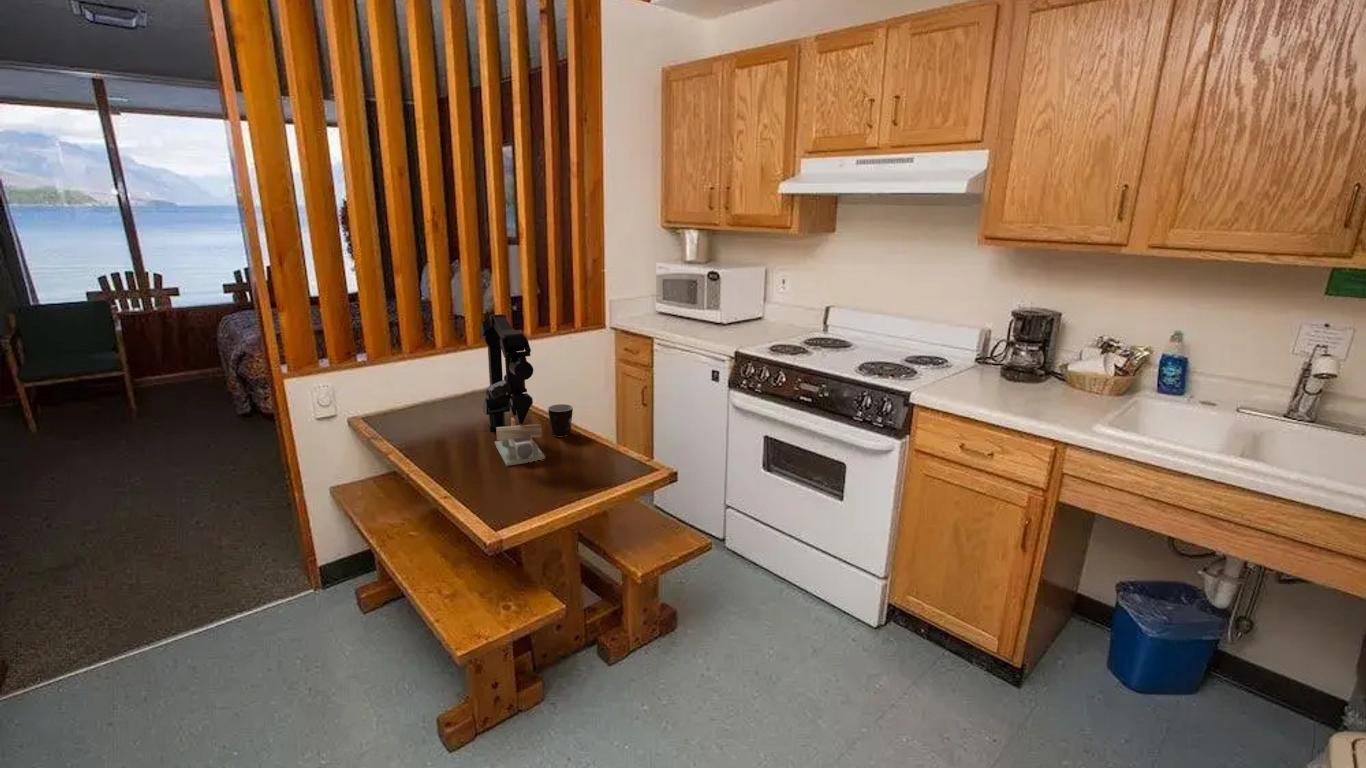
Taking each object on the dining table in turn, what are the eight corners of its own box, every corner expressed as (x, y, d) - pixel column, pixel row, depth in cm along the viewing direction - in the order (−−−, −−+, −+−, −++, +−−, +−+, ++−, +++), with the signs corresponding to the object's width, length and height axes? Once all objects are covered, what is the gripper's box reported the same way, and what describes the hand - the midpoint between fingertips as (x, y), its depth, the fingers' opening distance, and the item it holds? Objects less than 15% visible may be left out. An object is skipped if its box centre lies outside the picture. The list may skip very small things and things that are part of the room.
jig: (495, 444, 206) (493, 419, 204) (530, 439, 212) (529, 414, 209) (507, 467, 188) (505, 439, 186) (545, 460, 194) (544, 433, 191)
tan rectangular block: (497, 435, 197) (496, 427, 196) (541, 432, 201) (540, 424, 200) (496, 440, 193) (496, 431, 193) (541, 436, 197) (541, 427, 196)
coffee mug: (560, 428, 223) (559, 402, 220) (578, 433, 219) (577, 406, 216) (537, 438, 213) (536, 411, 211) (556, 443, 209) (555, 415, 206)
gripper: (483, 368, 196) (487, 414, 200) (494, 382, 180) (497, 432, 184) (518, 365, 201) (521, 410, 205) (532, 378, 185) (534, 427, 189)
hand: (517, 419), depth 196 cm, fingers open, 9 cm apart
